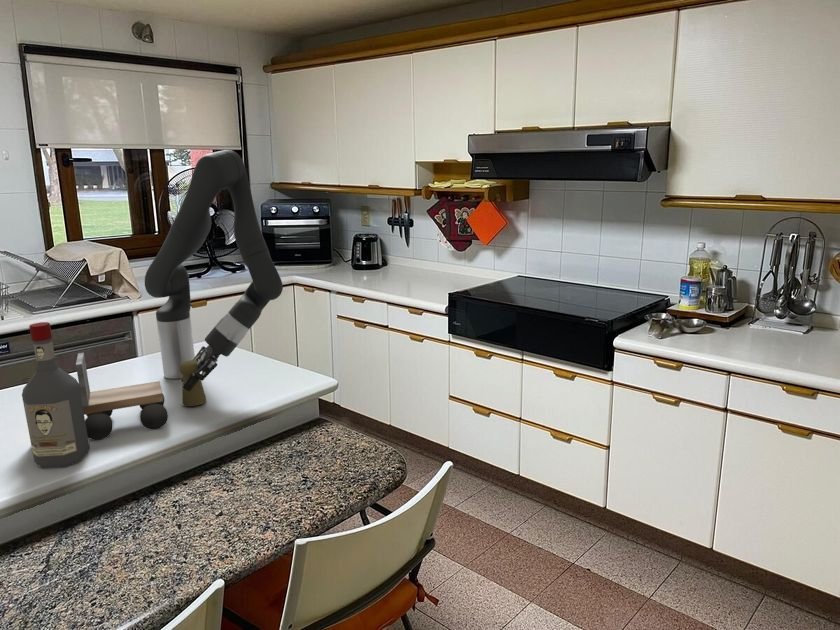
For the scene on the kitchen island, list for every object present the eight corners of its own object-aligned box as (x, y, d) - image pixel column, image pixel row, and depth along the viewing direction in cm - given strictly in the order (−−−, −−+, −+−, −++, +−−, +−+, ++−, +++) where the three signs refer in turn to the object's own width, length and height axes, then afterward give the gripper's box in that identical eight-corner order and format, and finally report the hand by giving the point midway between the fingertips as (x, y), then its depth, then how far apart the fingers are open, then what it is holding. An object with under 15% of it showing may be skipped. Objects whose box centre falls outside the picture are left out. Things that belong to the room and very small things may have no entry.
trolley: (87, 421, 159) (76, 351, 154) (165, 407, 166) (156, 340, 161) (85, 442, 146) (72, 367, 142) (169, 427, 153) (159, 355, 149)
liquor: (52, 450, 143) (28, 319, 135) (94, 448, 143) (72, 318, 136) (30, 470, 134) (3, 331, 127) (75, 467, 134) (51, 329, 127)
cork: (210, 397, 170) (205, 357, 168) (200, 406, 165) (195, 365, 162) (188, 397, 171) (183, 357, 168) (178, 405, 165) (172, 365, 162)
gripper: (212, 320, 172) (170, 369, 170) (219, 332, 160) (174, 386, 158) (234, 336, 176) (193, 385, 174) (243, 349, 163) (199, 402, 161)
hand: (184, 385), depth 166 cm, fingers closed on cork, 4 cm apart
